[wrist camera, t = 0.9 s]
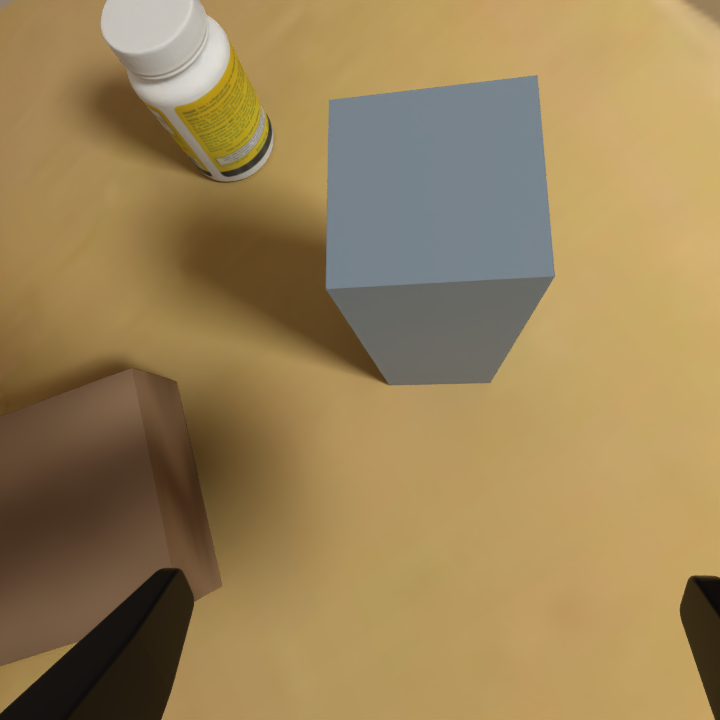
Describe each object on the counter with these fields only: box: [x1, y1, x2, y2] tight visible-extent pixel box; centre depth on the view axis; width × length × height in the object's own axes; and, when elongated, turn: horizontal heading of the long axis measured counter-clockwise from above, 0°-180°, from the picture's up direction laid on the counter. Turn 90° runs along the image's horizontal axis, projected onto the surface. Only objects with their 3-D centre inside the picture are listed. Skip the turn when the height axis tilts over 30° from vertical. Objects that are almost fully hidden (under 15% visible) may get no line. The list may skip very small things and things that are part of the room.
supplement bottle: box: [101, 0, 274, 182], centre depth 23 cm, size 5×5×8 cm
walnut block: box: [0, 368, 222, 666], centre depth 22 cm, size 10×8×4 cm
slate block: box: [326, 75, 555, 385], centre depth 17 cm, size 5×5×13 cm
